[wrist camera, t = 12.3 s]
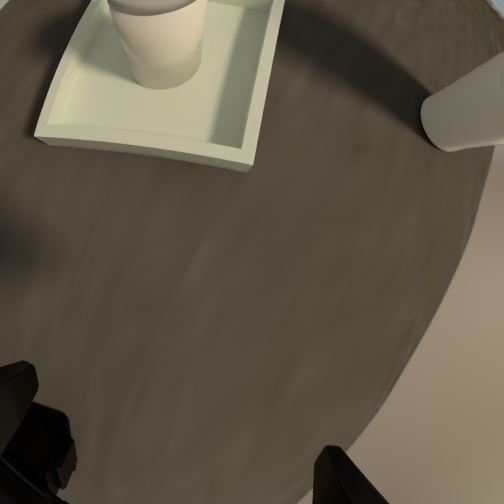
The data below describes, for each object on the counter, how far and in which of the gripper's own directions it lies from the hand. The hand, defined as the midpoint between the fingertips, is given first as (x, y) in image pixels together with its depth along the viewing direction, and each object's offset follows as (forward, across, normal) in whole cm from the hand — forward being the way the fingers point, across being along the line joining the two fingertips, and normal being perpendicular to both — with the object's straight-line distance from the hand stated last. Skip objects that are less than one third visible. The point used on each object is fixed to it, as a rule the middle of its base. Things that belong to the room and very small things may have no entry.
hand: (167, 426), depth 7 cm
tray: (+15, +7, -13) cm, 21 cm away
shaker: (+14, +7, -14) cm, 21 cm away
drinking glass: (+20, -15, -16) cm, 29 cm away
